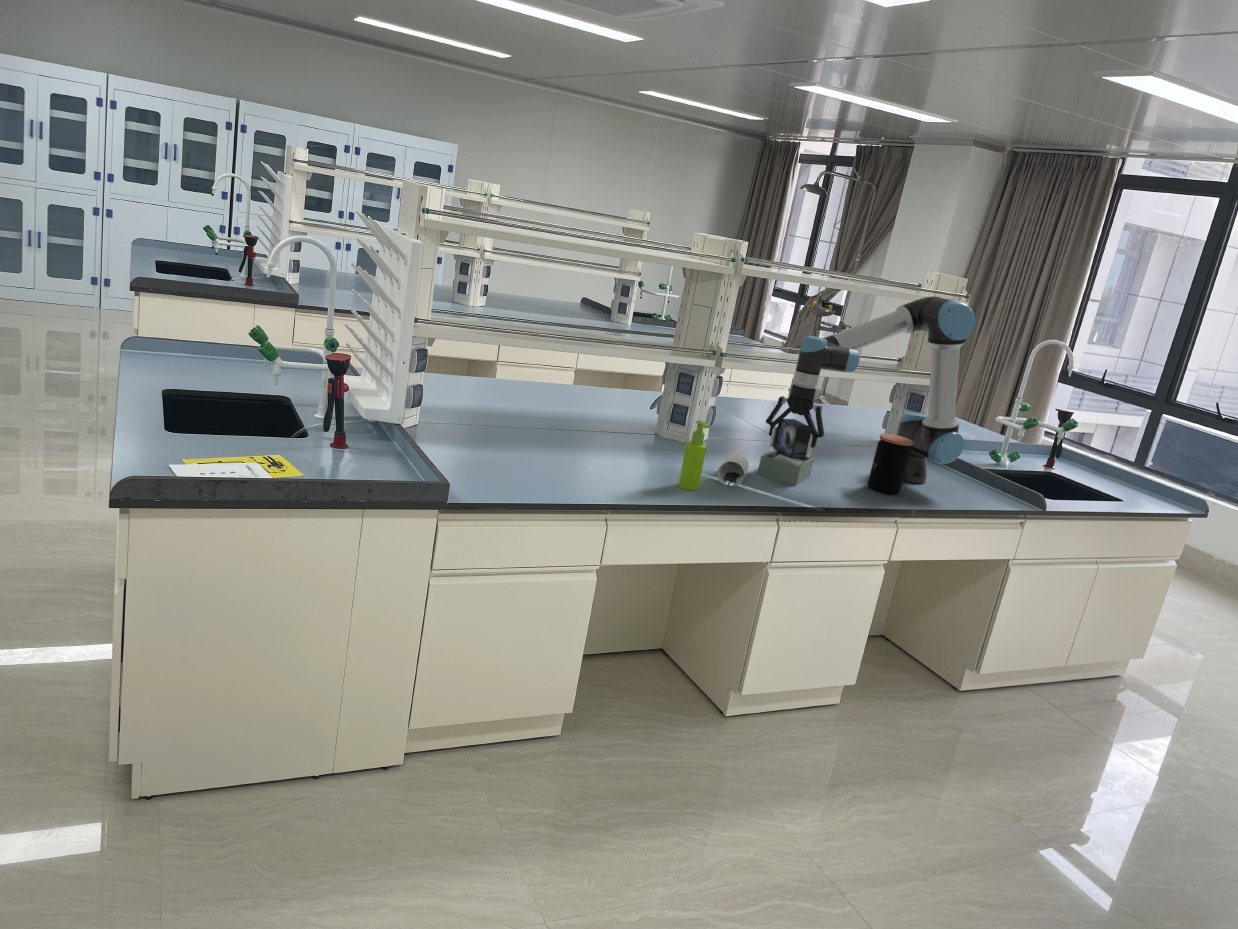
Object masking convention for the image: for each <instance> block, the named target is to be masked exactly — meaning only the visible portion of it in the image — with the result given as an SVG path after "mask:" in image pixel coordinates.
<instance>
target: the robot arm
mask: <svg viewBox="0 0 1238 929" xmlns="http://www.w3.org/2000/svg"><path fill="white" fill-rule="evenodd" d="M975 325H976V318H975V313H974V311H973V309H972V308H971V307H970V306H969V305H968V304H967V303H964V302H961V301H960V300H957V299H956V300H955V299H949V298H944V297H940V296H936V295H935V296H934V295H933V296H926V297H922V298H919V299H916V300H913V301H909V302H908V303H904V304H902V305H899V306H897V308H896V310H895V311H892V312H890V313H887V314H883V315H882V316H881V315H880V316H879V317H875V318H873V319H871V320H867V321H866V322H863V323H861V324H858V325H855V326H853V327H849V328H846V329H845V330H842V331H839V332H837V333H834V334H832V335H828V336H826V337H819V336H815V335H814V336H813V335H805V336H803V338H802V342H801V345H800V348H799V352H798V358H797V361H796V362H797V363H796V367H795V372H794V376H793V380H792V382H793V383H792V384H791V389H790V393H789V396H788V397H785V396H784V395H782V396H780V397H778V399H777V400H778V401H777V403H776V404H775V406H774V408H773V409H772V410H771V413H770V414H769V415H768V417H767V418H766V420H765V424H767V425H769V432H768V436H769V437H770V440H769V441H770V442H769V444H768V447H769V448H773V447H774V442H775V437H776V433H777V428H778V423H779V422H780V421H781V420H782V419H786V417H787V416H788V415H789V414H790V413H792V414H793V415H799V416H802V417H804V419H805V420H806V425H807V426H809V427H810V428H812V430H811V436H810V439H809V443H808V448H807V452H806V456H805V457H810V456H811V453H812V448H813V449H814V448H816V445H817V442H818V438H823V437H824V436H825V428H824V424H823V423H824V422H823V417H822V416H823V415H822V411H823V405H816V404H814V399H815V394H816V390H817V389H816V387H818V383H819V380H820V379H819V378H820V373H821V370H829V371H836V372H842V373H853V372H855V371H856V370H857V369H858V366H859V365H860V364H859V363H860V354H859V351H858V350H860V349H863V348H865V347H868V346H870V345H872V344H873V345H874V344H875V343H878V342H881V341H884V340H886V339H888V338H889V339H890V338H892V337H895V336H897V335H899V334H902V333H904V334H907V335H908V334H911V333H913V332H920V331H921V332H923V331H924V332H927V333H928V334H927V343H928V344H929V345H930V346H931V358H930V359H931V360H930V372H929V373H930V374H929V375H930V376H929V386H928V387H929V388H928V390H929V391H928V403H927V414H923V413H922V414H920V413H912V412H905V413H904V414H902V416H901V419H900V421H899V426H898V430H897V434H896V435H898V436H901V437H905V438H908V439H910V440H912V441H913V445H911V447H910V448H911V453H910V457H909V461H908V464H907V468H906V472H905V476H904V479H903V482H906V483H911V484H925V483H926V481H927V479H928V478H927V477H928V473H927V472H928V470H927V459H928V460H930V461H931V462H935V463H938V464H941V465H947V464H950V463H953V462H954V461H956V460H957V459H958V458H959V457H960V456H961V455H962V453H963V452H964V448H965V445H966V444H965V443H966V442H965V439H964V437H963V435H961V433H959V425H960V422H959V421H958V420H957V419H956V418H955V414H956V405H957V404H956V403H957V392H958V380H959V371H960V370H959V367H960V356H961V354H960V353H961V348H962V347H963V345H965V344H966V342H967V338H968V337H969V336H970V335H971V332H973V331H974V328H975ZM785 404H787V405H788V407H787V408H786V409H785V410H784V412H782V413H781V414H780V415H779V416H778V417H777V418H776V419H775V417H776V416H777V414H778V413H779V411H780V410H781V408H782V406H783V405H785ZM812 409H813V412H814V413H815V421H816V426H815V423H814V421H813V418H812V414H811V412H810V411H811V410H812ZM816 427H817V428H816Z"/></svg>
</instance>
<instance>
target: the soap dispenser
mask: <svg viewBox="0 0 1238 929" xmlns="http://www.w3.org/2000/svg"><path fill="white" fill-rule="evenodd" d="M695 423H696V424H697V426H696V430H694V431H692V436H691V441H687V442H686V445H685V449H684V454H683V460H682V466H681V470H680V475H679V480H678V487H679V488H680V489H682V490H683V489H684V490H687V491H697V490H699V486H700V480H701V477H702V472H703V468H704V467H703V466H704V462H705V456H706V453H707V452H706V451H707V445H706V444H704V440H705V439H704V438H705V433H704V432H703V429H710V428H711V426H710V424H708V422H705V421H702V420H695Z"/></svg>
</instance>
